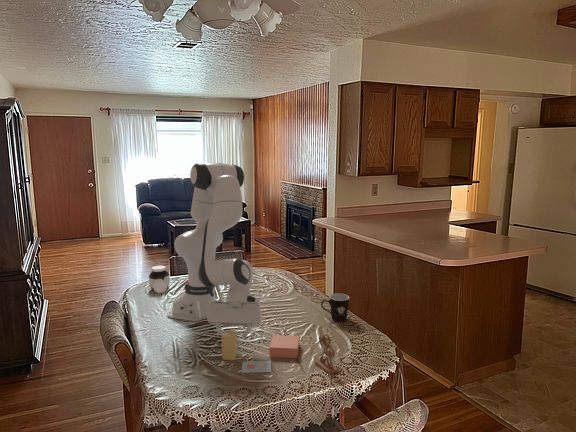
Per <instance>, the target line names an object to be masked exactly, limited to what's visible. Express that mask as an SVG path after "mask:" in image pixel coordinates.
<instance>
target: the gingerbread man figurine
mask: <svg viewBox="0 0 576 432" xmlns="http://www.w3.org/2000/svg"><path fill="white" fill-rule="evenodd" d="M318 340H319V341H318V342H319V344H320V346H321V347H322V348H323V351H322V355H321V357H320V358H319V359H318V360H315V361H314V365H315V366H316V367H319V369H321V370H322V371H323V372H326V373H327V374H328V375H330V376H331V375H334V374H336V373H339V372H340V368H338V367H336V366H335V365H334V364H333V362H332V359H333V358H335V356H336V353H335V350H334V348H333V346H331V343H332V340H331V337H330V335H329V334H324V335H323V336H322V335H321V336H319V337H318ZM329 348H330V350H328V349H329ZM324 356H325V358H324Z"/></svg>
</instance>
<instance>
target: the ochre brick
mask: <svg viewBox="0 0 576 432" xmlns="http://www.w3.org/2000/svg"><path fill="white" fill-rule="evenodd" d="M238 347H239V346H238V330H224V331H223V333H222V337H221V354H222V355H221V358H222V360H225V361H226V360H227V361H235V360H236V359H237V357H238V355H239V354H238V353H239V351H238V349H239V348H238Z"/></svg>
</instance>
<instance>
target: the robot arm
mask: <svg viewBox="0 0 576 432" xmlns="http://www.w3.org/2000/svg"><path fill="white" fill-rule="evenodd" d="M189 177H190V183H191V185H192V186H193V187H194V190H193V196H192V201H191V208H190V216H191V218H192V219H193V220H194V221H195V224H196V227H195V229H191V230H188V231H185V232H183V233H181V234H180V235H177V237H176V238H175V240H174V249H175V252H176V254H177V255H178V256H180V257H181V258H182V259H183V261H184V262H185V264H186V268H187V276H188V277H187V279H188V281H187V282H186V284H184V286H183V290H184V291H183V292H182V293H180V295H178V296H177V297H176V298H175V299H174V301H173V303H172V307H171V308H170V309H169V310H168V311H167V314H166V315H167V318H170V319H176V320H183V321H184V320H186V321H192V322H199V321H202V320H205V319H207V322H208V323H209V325H213V326H215V327H216V330H217V331H216V332H217V333H216V336H217V337H221V338H222V335H223V333H224V331H223V330H221V329H220V328H221V327H222V326H235V327H236V326H237V327H246V330H245V331H242V336H241V337H242V338H244V339H245V338H248V334H249V333H250V331H251V330H252V327H255V328H257V327H261V325H262V322H263V314H262V309H261V307H262V305H261V302H260V300H259V298H258V297H256V296H253V295H251V288H252V285H253V284H252V283H253V273H254V272H253V264H251V263H250V262H249V261H248V260H245V259H241V258H236V257H235V258H226V259H217V260H216V254H217V253H216V252H217V247H219V246H220V245H221V244H222V243H223V240H224V236H223V235H224V234H223V233H224V232H225V231H227V230H229V229H231V228H233V227H234V226H235V225H237V224H238V223H239V222H240V221H241V219H242V217H243V212H244V211H243V209H244V208H243V207H244V206H243V196H242V189H241V188H242V186H243V185H244V181H245V173H244V170H243V168H242V167H241V166H239V165H236V164H229V163H223V162H197V163H194V164H193V165H192V167H191V170H190V175H189ZM217 286H229V287H228V289H227V293H226V296H225V297H226V298H225V300H216V296H215V295H216V287H217Z"/></svg>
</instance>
